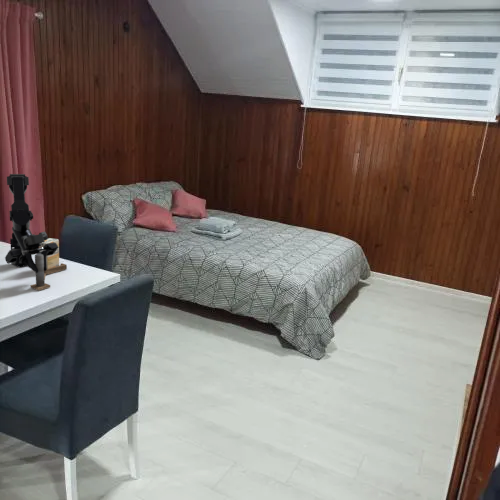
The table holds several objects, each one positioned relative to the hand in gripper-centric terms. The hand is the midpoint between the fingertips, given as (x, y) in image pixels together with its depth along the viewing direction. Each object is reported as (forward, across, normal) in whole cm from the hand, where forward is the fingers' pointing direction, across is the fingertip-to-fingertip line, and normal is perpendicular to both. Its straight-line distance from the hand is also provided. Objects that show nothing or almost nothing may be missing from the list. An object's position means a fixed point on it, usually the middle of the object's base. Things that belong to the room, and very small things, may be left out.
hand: (41, 271), depth 178 cm
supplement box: (-7, +13, +17) cm, 23 cm away
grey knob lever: (0, +8, +10) cm, 13 cm away
